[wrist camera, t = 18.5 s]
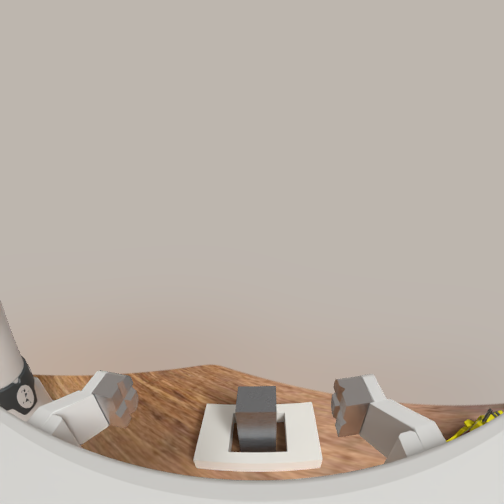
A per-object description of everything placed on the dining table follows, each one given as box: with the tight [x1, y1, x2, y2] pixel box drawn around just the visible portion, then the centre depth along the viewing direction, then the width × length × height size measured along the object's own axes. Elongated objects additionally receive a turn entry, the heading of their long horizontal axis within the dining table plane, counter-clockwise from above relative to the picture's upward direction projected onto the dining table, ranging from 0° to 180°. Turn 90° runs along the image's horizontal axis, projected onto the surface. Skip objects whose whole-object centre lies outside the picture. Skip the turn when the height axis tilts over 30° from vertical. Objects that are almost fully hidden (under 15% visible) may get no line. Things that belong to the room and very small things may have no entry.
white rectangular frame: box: [193, 402, 322, 472], centre depth 33 cm, size 17×12×2 cm
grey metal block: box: [235, 386, 277, 452], centre depth 32 cm, size 5×5×10 cm
